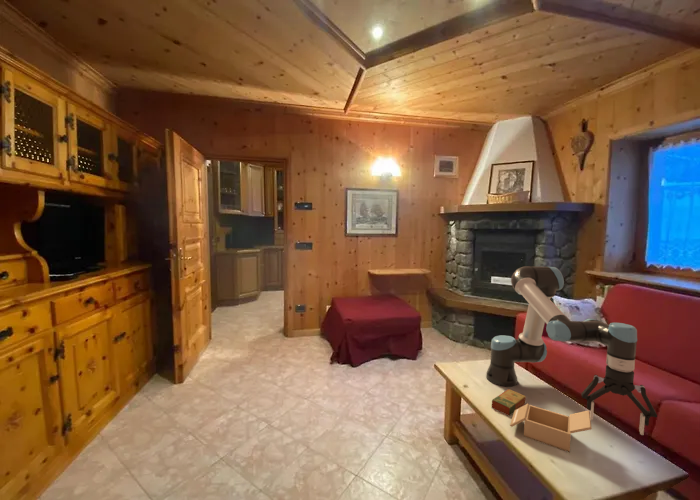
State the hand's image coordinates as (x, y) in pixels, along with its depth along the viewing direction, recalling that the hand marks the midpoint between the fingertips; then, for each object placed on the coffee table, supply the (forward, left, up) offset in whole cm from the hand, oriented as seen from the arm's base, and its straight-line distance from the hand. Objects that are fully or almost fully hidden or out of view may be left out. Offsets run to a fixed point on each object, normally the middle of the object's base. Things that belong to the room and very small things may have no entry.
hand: (615, 425), depth 111 cm
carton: (-14, -36, -13) cm, 41 cm away
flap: (0, -13, -5) cm, 14 cm away
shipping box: (0, -23, -12) cm, 26 cm away
